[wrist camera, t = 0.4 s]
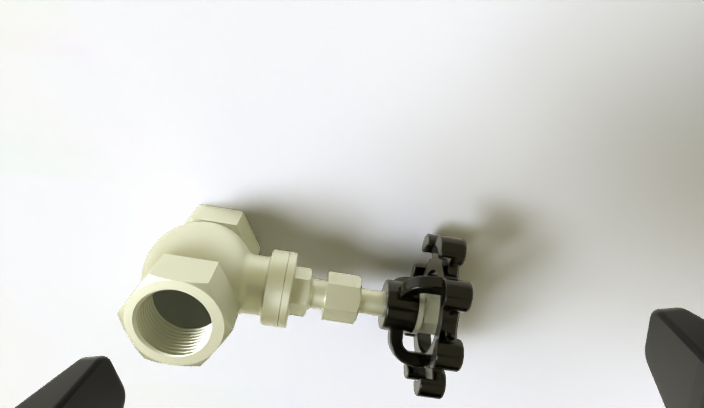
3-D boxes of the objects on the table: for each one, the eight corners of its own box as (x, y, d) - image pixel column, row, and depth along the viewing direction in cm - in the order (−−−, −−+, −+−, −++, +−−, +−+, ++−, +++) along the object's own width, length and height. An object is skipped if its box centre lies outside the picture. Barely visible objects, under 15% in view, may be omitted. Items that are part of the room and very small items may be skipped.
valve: (167, 296, 24) (416, 333, 25) (107, 395, 18) (439, 438, 19) (176, 163, 22) (449, 209, 23) (111, 223, 16) (489, 283, 17)
